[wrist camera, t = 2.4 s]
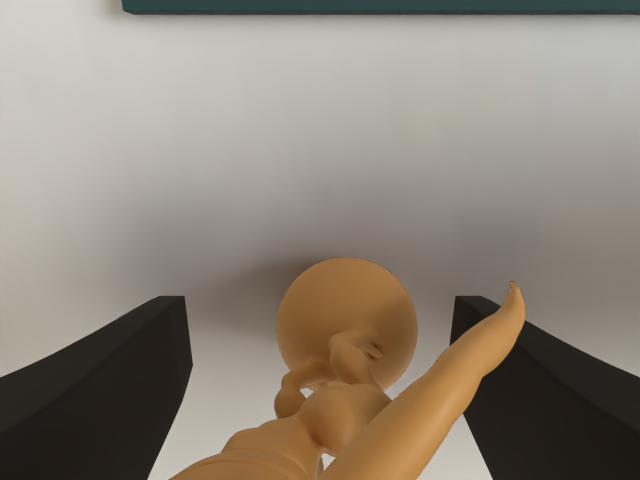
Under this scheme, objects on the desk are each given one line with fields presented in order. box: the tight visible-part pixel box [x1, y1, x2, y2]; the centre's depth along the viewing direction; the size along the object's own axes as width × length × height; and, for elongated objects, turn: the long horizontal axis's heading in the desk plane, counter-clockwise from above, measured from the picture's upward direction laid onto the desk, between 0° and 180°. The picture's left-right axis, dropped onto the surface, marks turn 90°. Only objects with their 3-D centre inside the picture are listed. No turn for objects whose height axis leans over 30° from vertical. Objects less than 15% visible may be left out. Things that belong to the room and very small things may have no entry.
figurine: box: [169, 257, 526, 480], centre depth 8 cm, size 8×6×12 cm
